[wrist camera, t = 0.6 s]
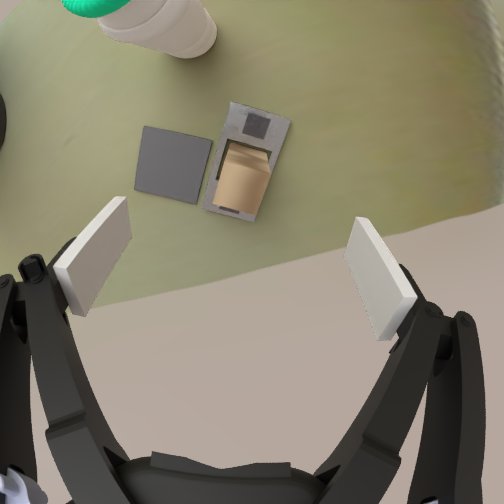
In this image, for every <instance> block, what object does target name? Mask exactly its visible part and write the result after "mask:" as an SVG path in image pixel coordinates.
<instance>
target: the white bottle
mask: <svg viewBox="0 0 504 504" xmlns="http://www.w3.org/2000/svg"><path fill="white" fill-rule="evenodd" d="M62 3H63V4H64V7H66V9H67V10H68V11H70V12H72V13H73V14H76V15H79V16H82V17H88V18H97V20H98V23H99V26H100V28H101V29H102V31H103V32H104V33H105V34H106V35H107V36H109V37H110V38H112V39H114V40H116V41H119V42H124V43H133V44H136V45H138V46H142V47H145V48H149V49H153V50H157V51H161V52H164V53H166V54H170V55H173V56H175V57H179V58H194V57H197V56H200V55H202V54H204V53H205V52H207V51H208V50H209V49H210V48H211V47H212V45H213V44H214V42H215V40H216V37H217V28H216V25H215V22H214V21H213V19H212V18H211V17H210V15H209V13H208V12H207V11H206V10H205V9H204V7H203V5H202V3H201V1H200V0H62Z"/></svg>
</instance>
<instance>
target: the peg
mask: <svg viewBox="0 0 504 504" xmlns="http://www.w3.org/2000/svg"><path fill="white" fill-rule="evenodd" d="M270 176H271V172H270V168H269V163H268V158H267V153H266V152H265V151H261V150H258V149H255V148H251V147H248V146H244V145H241V144H237V143H234V142H231V143H230V146H229V149H228V152H227V155H226V158H225V161H224V165H223V168H222V171H221V175H220V178H219V182H218V186H217V189H216V193H215V196H214V200H213V204H215V205H219V206H223V207H227V208H231V209H234V210H238V211H242V212H245V213H249V214H253V215H257V212H258V209H259V207H260V204H261V201H262V198H263V196H264V193H265V190H266V187H267V185H268V182H269V179H270Z"/></svg>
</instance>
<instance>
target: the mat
mask: <svg viewBox="0 0 504 504" xmlns="http://www.w3.org/2000/svg"><path fill="white" fill-rule="evenodd" d="M211 144H212V140H208V139H204V138H200V137H196V136H191V135H187V134H182V133H178V132H173V131H168V130H163V129H158V128H153V127H148V126H144V128H143V133H142V139H141V145H140V151H139V157H138V164H137V171H136V178H135V186H134V190H138V191H142V192H146V193H150V194H155V195H159V196H163V197H167V198H171V199H175V200H179V201H183V202H187V203H191V204H195V205H196V202H197V198H198V194H199V190H200V186H201V182H202V178H203V174H204V170H205V166H206V162H207V159H208V155H209V151H210V147H211Z"/></svg>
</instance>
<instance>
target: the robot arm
mask: <svg viewBox="0 0 504 504" xmlns="http://www.w3.org/2000/svg"><path fill="white" fill-rule="evenodd" d="M5 129H6V111H5V105H4V101H3V99H2V96H1V94H0V148H1V145H2V143H3V140H4V136H5ZM131 239H132V234H131V228H130V220H129V213H128V204H127V197H114V198H113V199H112V200H111V201H110V202H109V203H108V204H107V205H106V206H105V207H104V208H103V209H102V210H101V211H100V213H99V214H98V215H97V216H96V217H95V218H94V219H93V220H92V221H91V222H90V223H89V224H88V225H87V227H86V228H85V229H84V230H83V231H82V232H81V233H80V234H79V235H78V237H74V238H72V239H71V240H69V241H68V242H67V243H66V244H65V245H64V246H63V247H62V250H60V251H59V252H58V254H57V255H56V256H55V257H54V258H53V259H52V260H51V262H50V263H49V264H48V265H47V267H46V265H45V263H44V260H43V257H42V255H40V254H33V255H29V256H28V257H26V258H24V259H23V260H22V261H21V262H20V264H19V266H18V270H19V272H20V274H21V277H22V279H23V282H15V279H14V277H13V275H11V274H5V275H2V276H1V277H0V504H47V502H48V498H47V495H46V494H45V492H44V491H42V490H41V488H40V487H39V485H38V484H37V466H36V458H35V451H34V444H33V435H32V424H31V410H30V364H31V355H32V361H33V366H34V371H35V375H36V381H37V385H38V389H39V393H40V396H41V401H42V404H43V407H44V411H45V414H46V417H47V421H48V424H49V428H48V429H47V430H46V431H45V436H46V439H47V443H48V445H49V448H50V451H51V453H52V456H53V458H54V461H55V463H56V466H57V468H58V470H59V472H60V475H61V477H62V479H63V481H64V483H65V485H66V487H67V489H68V491H69V493H70V495H71V497H72V500H71V501H69V502H68V503H66V504H379V502H380V500H381V499H382V497H383V495H384V494H385V492H386V491H387V489H388V487H389V485H390V484H391V482H392V480H393V478H394V476H395V474H396V473H397V470H398V469H399V467H400V464H401V457H400V456H399V451H400V449H401V447H402V445H403V442H404V440H405V438H406V436H407V434H408V432H409V429H410V427H411V425H412V422H413V420H414V417H415V415H416V412H417V409H418V407H419V404H420V402H421V399H422V396H423V394H424V391H425V388H426V385H427V397H426V407H425V415H424V423H423V430H422V436H421V442H420V447H419V453H418V457H417V462H416V466H415V471H414V475H413V479H412V482H411V486H410V491H409V495H408V501H407V504H483V501H482V487H481V486H482V485H481V477H482V470H483V460H484V450H485V429H486V424H485V423H486V416H485V415H486V411H485V410H486V409H485V389H484V388H485V387H484V375H483V366H482V358H481V351H480V345H479V338H478V333H477V328H476V323H475V321H474V319H473V318H472V316H471V315H469V314H468V313H466V312H464V311H458V312H457V313H456V315H455V316H454V318H451V317H448V316H444V315H443V312H442V310H441V309H440V308H439V307H438V306H437V305H436V304H434V303H432V302H429V301H426V299H425V297H424V296H423V294H422V293H421V291H420V289H419V287H418V286H417V284H416V282H415V281H414V279H412V276H411V274H410V273H409V271H408V270H407V269H406V268H405V267H404V266H403V265H402V264H398V263H397V262H396V260H395V259H394V257H393V255H392V254H391V252H390V251H389V249H388V248H387V246H386V245H385V243H384V242H383V240H382V239H381V237H380V236H379V234H378V233H377V231H376V230H375V228H374V227H373V225H372V224H371V223H370V221H369V220H368V218H362V217H356V218H355V222H354V225H353V228H352V231H351V235H350V238H349V241H348V244H347V247H346V250H345V253H344V258H345V260H346V262H347V265H348V267H349V270H350V272H351V274H352V276H353V279H354V281H355V284H356V286H357V289H358V291H359V294H360V296H361V299H362V302H363V304H364V307H365V309H366V312H367V314H368V317H369V320H370V322H371V325H372V328H373V331H374V333H375V336H376V339H377V341H384V340H385V341H386V340H391V339H392V337H393V336H394V334H395V333H396V332H397V334H398V336H399V339H398V340H397V342H396V343H395V344H394V346H393V347H392V349H391V350H390V352H389V353H390V356H389V358H388V360H387V362H386V364H385V367H384V368H383V371H382V372H381V374H380V376H379V378H378V380H377V382H376V384H375V386H374V388H373V389H372V391H371V393H370V395H369V397H368V399H367V400H366V402H365V404H364V405H363V407H362V409H361V410H360V412H359V414H358V415H357V417H356V419H355V420H354V422H353V423H352V425H351V426H350V428H349V429H348V431H347V433H346V434H345V435H344V437H343V438H342V440H341V441H340V443H339V444H338V446H337V447H336V448H335V450H334V451H333V453H332V454H331V455H330V457H329V458H328V459H327V460H326V461H325V462H324V463H323V464H322V465H321V466H320V467H319V468H318V469H317V470H316V472H315V473H314V474H313V475H311V474H309V473H307V472H305V471H302V470H299V469H296V468H291V467H290V462H284V463H254V464H249V465H243V466H238V467H233V468H226V469H218V468H214V467H211V466H208V465H205V464H202V463H200V462H197V461H194V460H191V459H188V458H186V457H181V456H175V455H169V454H164V453H158V452H153V451H152V455H151V457H141V458H137V459H133V460H130V459H129V457H128V456H127V454H126V453H125V451H124V450H123V448H122V447H121V446H120V445H119V443H118V442H117V441H116V439H115V437H114V435H113V433H112V431H111V430H110V428H109V426H108V424H107V422H106V420H105V418H104V416H103V413H102V411H101V409H100V407H99V405H98V403H97V400H96V398H95V396H94V393H93V391H92V388H91V386H90V383H89V381H88V378H87V376H86V373H85V371H84V368H83V365H82V362H81V359H80V357H79V354H78V350H77V347H76V344H75V341H74V338H73V334H72V331H71V328H70V324H69V321H68V316H67V314H66V312H65V310H66V308H67V307H68V305H69V307H70V310H71V312H72V314H74V315H79V316H83V317H86V315H87V313H88V311H89V309H90V308H91V306H92V304H93V302H94V300H95V298H96V297H97V295H98V293H99V291H100V289H101V288H102V286H103V284H104V282H105V281H106V279H107V277H108V276H109V274H110V272H111V270H112V269H113V267H114V266H115V264H116V262H117V261H118V259H119V257H120V256H121V254H122V253H123V251H124V249H125V248H126V246H127V245H128V243H129V242H130V240H131ZM427 382H428V384H427Z"/></svg>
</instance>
